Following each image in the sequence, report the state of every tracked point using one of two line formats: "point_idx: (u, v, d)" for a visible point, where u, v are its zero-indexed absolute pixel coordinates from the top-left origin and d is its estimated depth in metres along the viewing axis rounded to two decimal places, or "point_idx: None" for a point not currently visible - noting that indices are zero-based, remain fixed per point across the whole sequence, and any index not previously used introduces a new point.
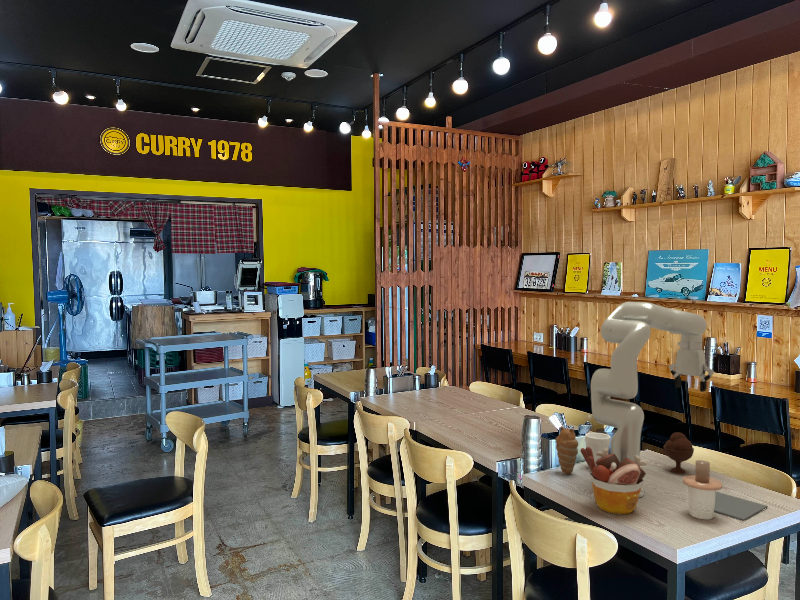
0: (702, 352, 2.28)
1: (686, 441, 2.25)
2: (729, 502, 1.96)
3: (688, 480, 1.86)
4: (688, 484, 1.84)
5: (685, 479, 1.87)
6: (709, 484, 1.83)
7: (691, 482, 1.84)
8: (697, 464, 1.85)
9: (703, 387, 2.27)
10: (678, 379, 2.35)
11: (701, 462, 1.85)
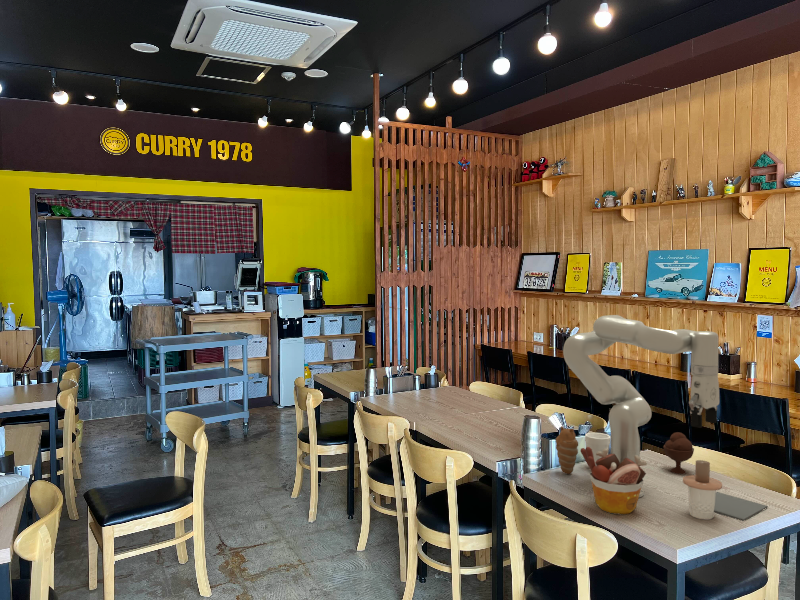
0: None
1: (686, 441, 2.25)
2: (729, 502, 1.96)
3: (688, 480, 1.86)
4: (688, 484, 1.84)
5: (685, 479, 1.87)
6: (709, 484, 1.83)
7: (691, 482, 1.84)
8: (697, 464, 1.85)
9: None
10: None
11: (701, 462, 1.85)
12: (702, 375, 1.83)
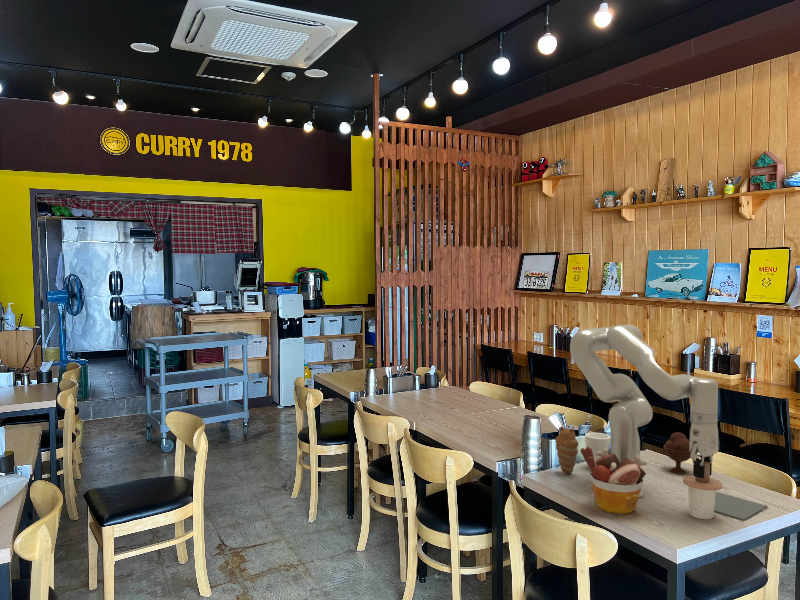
0: None
1: (686, 441, 2.25)
2: (729, 502, 1.96)
3: (688, 480, 1.86)
4: (688, 484, 1.84)
5: (685, 479, 1.87)
6: (709, 484, 1.83)
7: (691, 482, 1.84)
8: None
9: None
10: None
11: None
12: (701, 423, 1.82)
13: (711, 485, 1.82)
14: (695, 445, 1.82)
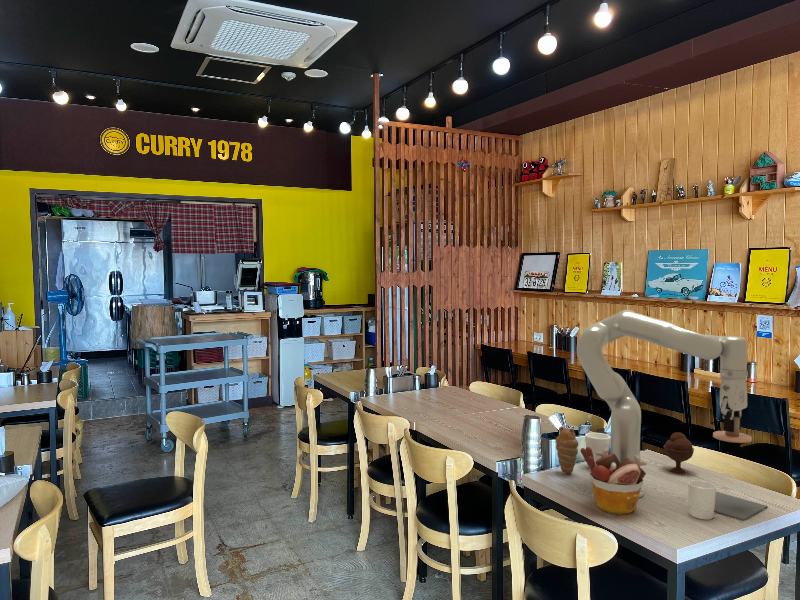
0: None
1: (686, 441, 2.25)
2: (729, 502, 1.96)
3: (718, 434, 1.93)
4: (719, 438, 1.91)
5: (715, 434, 1.94)
6: (739, 437, 1.90)
7: (722, 436, 1.91)
8: None
9: None
10: None
11: None
12: (731, 379, 1.89)
13: (741, 438, 1.89)
14: (725, 400, 1.89)
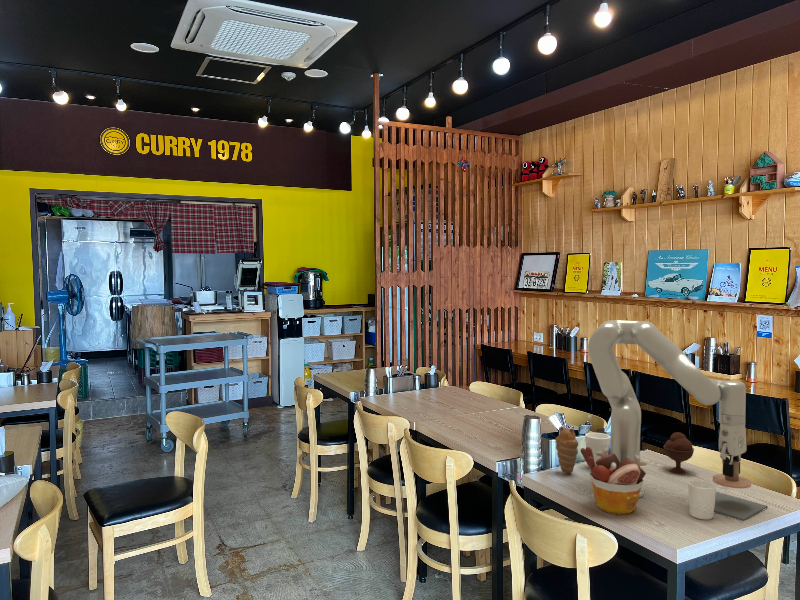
0: None
1: (686, 441, 2.25)
2: (729, 502, 1.96)
3: (718, 479, 1.94)
4: (718, 483, 1.91)
5: (715, 478, 1.94)
6: (739, 482, 1.90)
7: (721, 481, 1.92)
8: None
9: None
10: None
11: None
12: (730, 424, 1.90)
13: (741, 483, 1.89)
14: (724, 445, 1.90)
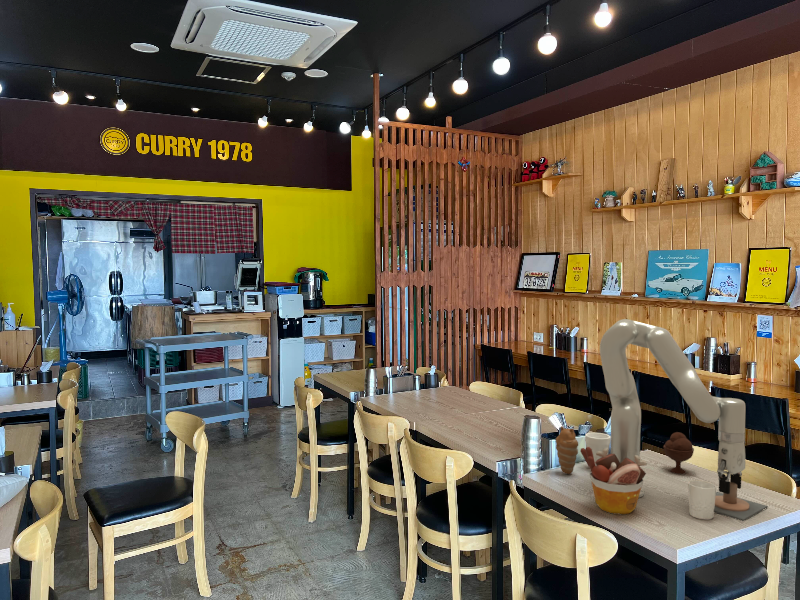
0: None
1: (686, 441, 2.25)
2: None
3: (716, 501, 1.94)
4: (717, 505, 1.92)
5: None
6: (737, 505, 1.90)
7: (719, 503, 1.92)
8: None
9: None
10: None
11: None
12: (729, 442, 1.90)
13: (739, 506, 1.90)
14: None
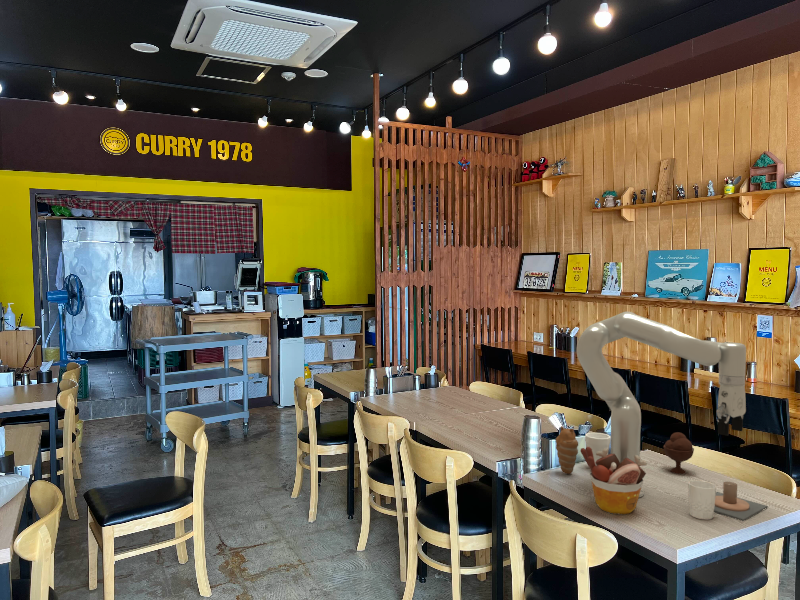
0: None
1: (686, 441, 2.25)
2: None
3: (716, 501, 1.94)
4: (717, 505, 1.92)
5: None
6: (737, 505, 1.90)
7: (719, 503, 1.92)
8: (725, 485, 1.93)
9: None
10: None
11: (729, 484, 1.93)
12: (729, 385, 1.90)
13: (739, 506, 1.90)
14: None
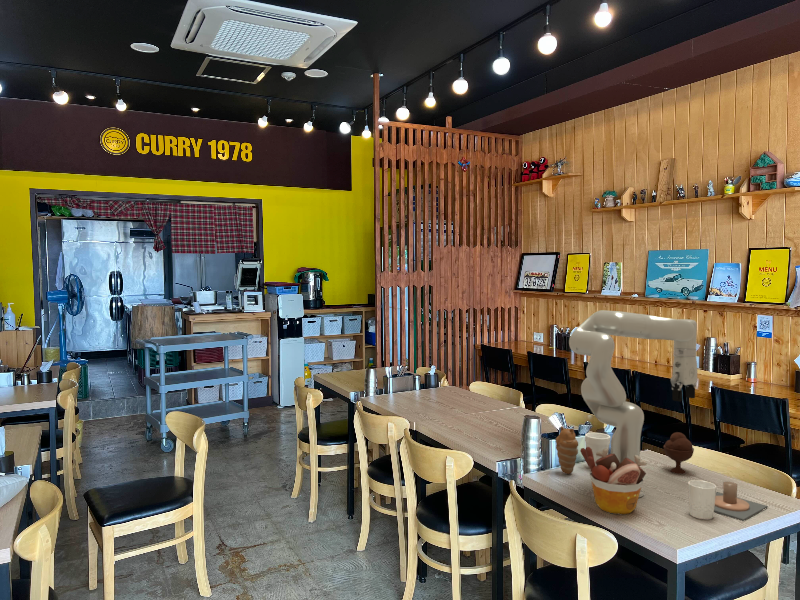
0: None
1: (686, 441, 2.25)
2: None
3: (716, 501, 1.94)
4: (717, 505, 1.92)
5: None
6: (737, 505, 1.90)
7: (719, 503, 1.92)
8: (725, 486, 1.93)
9: None
10: None
11: (729, 484, 1.93)
12: (682, 356, 2.14)
13: (739, 506, 1.90)
14: None
